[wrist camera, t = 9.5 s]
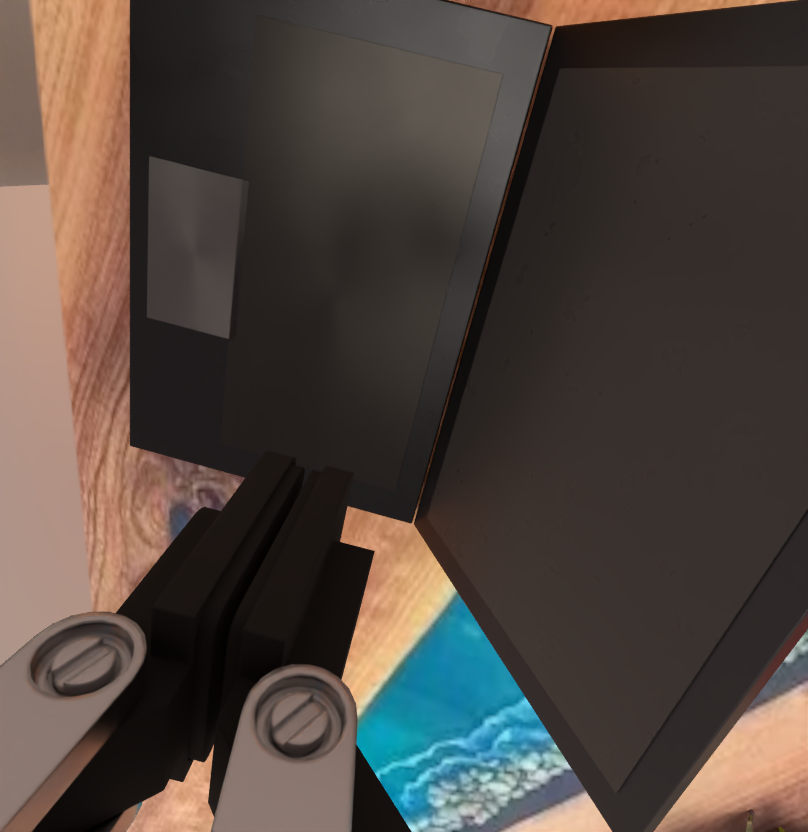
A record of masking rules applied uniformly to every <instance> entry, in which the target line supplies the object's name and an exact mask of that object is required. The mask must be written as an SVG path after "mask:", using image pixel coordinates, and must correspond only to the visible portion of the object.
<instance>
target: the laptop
mask: <svg viewBox="0 0 808 832" xmlns="http://www.w3.org/2000/svg"><path fill="white" fill-rule="evenodd" d="M551 31H552V25H549V24H545V23H541V22H537V21H533V20H528V19H524V18H520V17H516V16H512V15H507V14H503V13H499V12H495V11H490V10H486V9H482V8H478V7H474V6H469V5H465V4H461V3H457V2H452V1H448V0H130V446H133V447H136V448H140V449H144V450H147V451H151V452H155V453H158V454H162V455H165V456H169V457H173V458H176V459H180V460H183V461H187V462H191V463H194V464H198V465H202V466H205V467H209V468H212V469H216V470H220V471H223V472H227V473H230V474H234V475H238V476H241V477H245V478H246V477H247V475H248V474H249V473H250V471H251V470H252V468H253V467H254V466H255V464H256V463H257V462H258V460H259V459H260V458H261V456H262V455H263V453H264V452H265V451H267V450H268V451H272V452H276V453H280V454H284V455H288V456H292V457H295V458H296V466H300V467H303V468H304V469H305V473H304V480H303V486H304V484H305V482H306V480H307V479H308V477H309V475H310V473H311V471H312V470H315V471H319V472H322V470H323V469H324V467H325V466H326V465H327V466H331V467H334V468H338V469H342V470H346V471H350V472H354V476H353V482H352V487H351V492H350V496H349V501H348V506H350V507H353V508H357V509H361V510H364V511H368V512H371V513H375V514H379V515H382V516H386V517H389V518H393V519H397V520H400V521H404V522H407V523H412V521H413V518H414V514H415V511H416V507H417V504H418V500H419V497H420V493H421V490H422V486H423V483H424V479H425V476H426V472H427V469H428V465H429V461H430V458H431V454H432V451H433V447H434V444H435V440H436V437H437V433H438V430H439V426H440V423H441V419H442V416H443V412H444V409H445V405H446V402H447V398H448V394H449V391H450V387H451V384H452V380H453V377H454V373H455V370H456V366H457V363H458V359H459V356H460V352H461V349H462V345H463V342H464V338H465V334H466V331H467V327H468V324H469V320H470V317H471V313H472V310H473V306H474V303H475V299H476V296H477V292H478V289H479V285H480V282H481V278H482V275H483V271H484V267H485V264H486V260H487V257H488V253H489V250H490V246H491V243H492V239H493V236H494V232H495V229H496V225H497V222H498V218H499V215H500V211H501V207H502V204H503V200H504V197H505V193H506V190H507V186H508V183H509V179H510V176H511V172H512V169H513V165H514V162H515V158H516V155H517V151H518V148H519V144H520V140H521V137H522V133H523V130H524V126H525V123H526V119H527V116H528V112H529V109H530V105H531V102H532V98H533V95H534V91H535V88H536V84H537V80H538V77H539V73H540V70H541V66H542V63H543V59H544V56H545V52H546V49H547V45H548V42H549V38H550V35H551ZM303 486H302V488H303Z"/></svg>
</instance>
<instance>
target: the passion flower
mask: <svg viewBox="0 0 808 832" xmlns="http://www.w3.org/2000/svg"><path fill="white" fill-rule="evenodd" d="M753 815H754V812H753V811H749V818H748V822H747V827H746V832H753V828H752V820H753ZM778 829H779V832H785V831H784V830H783V829H782V828H781V827H779V828H778Z"/></svg>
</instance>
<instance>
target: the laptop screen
mask: <svg viewBox="0 0 808 832" xmlns="http://www.w3.org/2000/svg"><path fill="white" fill-rule="evenodd" d="M414 525H415V527H416V528H417V530H418V531H419V533H420V534H421V536H422V538H423V539H424V541H425V542H426V544H427V545H428V547H429V548H430V550H431V551H432V553H433V555H434V556H435V558H436V559H437V561H438V562H439V564H440V565H441V567H442V568H443V570H444V572H445V573H446V575H447V576H448V578H449V579H450V581H451V582H452V584H453V586H454V587H455V589H456V590H457V592H458V593H459V595H460V596H461V598H462V599H463V601H464V603H465V604H466V606H467V607H468V609H469V610H470V612H471V613H472V615H473V616H474V618H475V620H476V621H477V623H478V624H479V626H480V627H481V629H482V630H483V632H484V634H485V635H486V637H487V638H488V640H489V641H490V643H491V644H492V646H493V647H494V649H495V651H496V652H497V654H498V655H499V657H500V658H501V660H502V661H503V663H504V664H505V666H506V668H507V669H508V671H509V672H510V674H511V675H512V677H513V678H514V680H515V682H516V683H517V685H518V686H519V688H520V689H521V691H522V692H523V694H524V695H525V697H526V699H527V700H528V702H529V703H530V705H531V706H532V708H533V709H534V711H535V712H536V714H537V716H538V717H539V719H540V720H541V722H542V723H543V725H544V726H545V728H546V730H547V731H548V733H549V734H550V736H551V737H552V739H553V740H554V742H555V743H556V745H557V747H558V748H559V750H560V751H561V753H562V754H563V756H564V757H565V759H566V760H567V762H568V764H569V765H570V767H571V768H572V770H573V771H574V773H575V774H576V776H577V778H578V779H579V781H580V782H581V784H582V785H583V787H584V788H585V790H586V791H587V793H588V795H589V796H590V798H591V799H592V801H593V802H594V804H595V805H596V807H597V808H598V810H599V812H600V813H601V815H602V816H603V818H604V819H605V821H606V822H607V824H608V826H609V827H610V829H611V830H612V832H653V831H654V830H655V829H656V828H657V826H658V825H659V824H660V822H661V821H662V820H663V818H664V817H665V816H666V814H667V813H668V812H669V810H670V809H671V808H672V807H673V805H674V804H675V803H676V801H677V800H678V799H679V797H680V796H681V795H682V793H683V792H684V791H685V789H686V788H687V787H688V786H689V784H690V783H691V782H692V780H693V779H694V778H695V776H696V775H697V774H698V772H699V771H700V770H701V768H702V767H703V766H704V765H705V763H706V762H707V761H708V759H709V758H710V757H711V755H712V754H713V753H714V751H715V750H716V749H717V747H718V746H719V745H720V744H721V742H722V741H723V740H724V738H725V737H726V736H727V734H728V733H729V732H730V730H731V729H732V728H733V726H734V725H735V724H736V722H737V721H738V720H739V719H740V717H741V716H742V715H743V713H744V712H745V711H746V709H747V708H748V707H749V705H750V704H751V703H752V701H753V700H754V699H755V698H756V696H757V695H758V694H759V692H760V691H761V690H762V688H763V687H764V686H765V684H766V683H767V682H768V680H769V679H770V678H771V677H772V675H773V674H774V673H775V671H776V670H777V669H778V667H779V666H780V665H781V663H782V662H783V661H784V659H785V658H786V657H787V656H788V654H789V653H790V652H791V650H792V649H793V648H794V646H795V645H796V644H797V642H798V641H799V640H800V638H801V637H802V636H803V635H804V633H805V632H806V631H807V629H808V0H796V1H787V2H777V3H768V4H759V5H750V6H740V7H731V8H722V9H712V10H703V11H694V12H685V13H675V14H666V15H657V16H647V17H638V18H629V19H620V20H610V21H601V22H592V23H582V24H573V25H564V26H557V27H556V28H555V31H554V35H553V38H552V42H551V45H550V49H549V52H548V56H547V59H546V63H545V66H544V70H543V73H542V77H541V80H540V84H539V87H538V91H537V94H536V98H535V101H534V105H533V108H532V112H531V116H530V119H529V123H528V126H527V130H526V133H525V137H524V140H523V144H522V147H521V151H520V154H519V158H518V161H517V165H516V168H515V172H514V175H513V179H512V182H511V186H510V189H509V193H508V196H507V200H506V203H505V207H504V210H503V214H502V217H501V221H500V224H499V228H498V231H497V235H496V238H495V242H494V245H493V249H492V252H491V256H490V259H489V263H488V266H487V270H486V273H485V277H484V280H483V284H482V287H481V291H480V294H479V298H478V301H477V305H476V308H475V312H474V315H473V319H472V322H471V326H470V329H469V333H468V336H467V340H466V343H465V347H464V350H463V354H462V357H461V361H460V364H459V368H458V371H457V375H456V378H455V382H454V385H453V389H452V392H451V396H450V399H449V403H448V406H447V410H446V413H445V417H444V420H443V424H442V427H441V431H440V434H439V438H438V441H437V445H436V448H435V452H434V455H433V459H432V462H431V466H430V469H429V473H428V476H427V480H426V483H425V487H424V490H423V494H422V497H421V501H420V504H419V508H418V511H417V515H416V518H415V522H414Z"/></svg>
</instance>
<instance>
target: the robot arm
mask: <svg viewBox="0 0 808 832" xmlns="http://www.w3.org/2000/svg"><path fill="white" fill-rule="evenodd" d="M304 473H305V469H304V468H303V467H300V466H296V458H295V457H292V456H288V455H284V454H280V453H276V452H272V451H268V450H267V451H265V452H264V453H263V455H262V456H261V458H260V459H259V460H258V462H257V463H256V464H255V466H254V467H253V468H252V470H251V471H250V473H249V474H248V475H247V477H246V478H245V479H244V481H243V482H242V484H241V485H240V486H239V488H238V489H237V490H236V492H235V493H234V494H233V496H232V497H231V499H230V500H229V501H228V503H227V504H226V505H225V507H224V508H223V509H222V511H218V510H214V509H210V508H207V507H203V508H201V509H199V510H198V511H197V512H196V513H195V515H194V516H193V517H192V518H191V520H190V521H189V522H188V523H187V525H186V526H185V527H184V528H183V530H182V531H181V532H180V533H179V535H178V536H177V537H176V538H175V540H174V541H173V542H172V543H171V545H170V546H169V547H168V548H167V550H166V551H165V552H164V553H163V555H162V556H161V557H160V558H159V560H158V561H157V562H156V563H155V565H154V566H153V567H152V568H151V570H150V571H149V572H148V573H147V575H146V576H145V577H144V578H143V580H142V581H141V582H140V583H139V585H138V586H137V587H136V588H135V590H134V591H133V592H132V593H131V595H130V596H129V597H128V598H127V600H126V601H125V602H124V603H123V605H122V606H121V607H120V609H119V610H118V611H117V612H116V613H112V612H87V613H82V614H78V615H73V616H70V617H68V618H65V619H63V620H60V621H58V622H56V623H53V624H52V625H50V626H49V627H47V628H46V629H44V630H43V631H41V632H40V633H39V634H37V635H36V636H34V637H33V638H32V639H31V640H30V641H29V642H27V643H26V644H25V645H24V646H23V647H22V648H21V649H19V650H18V651H17V652H16V653H15V654H14V655H12V656H11V657H10V658H9V659H8V660H6V661H5V662H4V663H3V664H2V665H0V832H126V831H127V830H128V828H129V827H130V825H131V824H132V822H133V821H134V819H135V817H136V815H137V813H138V811H139V809H140V807H141V805H142V801H144V800H146V799H148V798H150V797H152V796H154V795H156V794H158V793H159V792H161V791H163V790H164V789H165V787H166V785H167V783H168V781H169V779H172V780H176V781H180V782H183V781H184V779H185V777H186V775H187V773H188V771H189V769H190V767H191V765H192V762H193V760H197V761H201V762H205V761H206V759H207V758H208V756H209V754H210V752H211V750H212V747H213V745H214V751H213V760H212V770H211V779H210V789H209V799H208V803H209V805H210V808H211V810H212V813H213V815H214V821H213V825H212V829H211V832H411V830H410V829H409V827H408V825H407V824H406V822H405V821H404V819H403V818H402V816H401V814H400V813H399V811H398V810H397V808H396V806H395V805H394V803H393V802H392V800H391V799H390V797H389V795H388V794H387V792H386V791H385V789H384V787H383V786H382V784H381V783H380V781H379V780H378V778H377V776H376V775H375V773H374V772H373V770H372V768H371V767H370V765H369V764H368V762H367V760H366V759H365V757H364V756H363V754H362V753H361V751H360V749H359V748H358V746H357V745H356V739H357V721H358V719H357V710H356V703H355V701H354V699H353V696H352V694H351V692H350V690H349V688H348V687H347V686H346V685H345V684H344V683H343V682H342V680H341V679H342V675H343V672H344V668H345V664H346V660H347V656H348V653H349V649H350V645H351V641H352V638H353V634H354V630H355V626H356V622H357V618H358V615H359V611H360V607H361V603H362V599H363V595H364V591H365V587H366V583H367V579H368V575H369V571H370V567H371V563H372V559H373V555H374V551H372V550H368V549H365V548H361V547H357V546H353V545H349V544H345V543H341V542H340V539H341V534H342V529H343V524H344V520H345V515H346V510H347V506H348V501H349V496H350V492H351V487H352V482H353V476H354V472H350V471H346V470H342V469H338V468H334V467H331V466H327V465H326V466H325V467H324V469H323V470H322V472H319V471H315V470H312V471H311V473H310V475H309V477H308V479H307V480H306V482H305V484H304V486H303V480H304ZM302 486H303V488H302Z"/></svg>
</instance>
